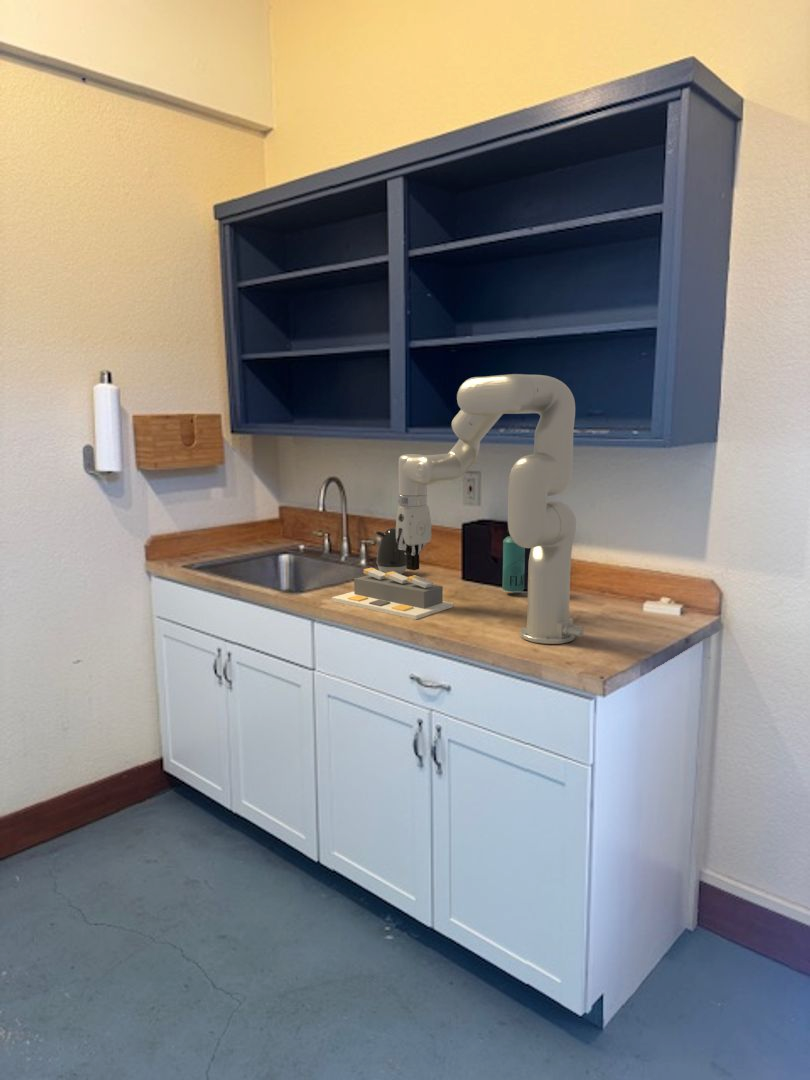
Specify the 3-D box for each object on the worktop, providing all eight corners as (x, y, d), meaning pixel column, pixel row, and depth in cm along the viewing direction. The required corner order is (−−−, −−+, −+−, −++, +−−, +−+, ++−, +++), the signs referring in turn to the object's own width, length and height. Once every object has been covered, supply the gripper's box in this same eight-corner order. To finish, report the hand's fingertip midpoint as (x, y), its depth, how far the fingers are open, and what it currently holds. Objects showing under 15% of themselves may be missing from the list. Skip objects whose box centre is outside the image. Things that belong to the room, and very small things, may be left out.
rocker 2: (432, 586, 202) (433, 582, 201) (425, 588, 199) (425, 584, 199) (414, 578, 205) (415, 575, 205) (406, 580, 203) (407, 577, 203)
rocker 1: (387, 577, 212) (388, 574, 211) (379, 579, 209) (380, 576, 209) (371, 570, 215) (371, 567, 215) (363, 572, 213) (363, 569, 213)
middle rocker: (409, 581, 207) (410, 578, 206) (401, 583, 204) (402, 580, 204) (392, 574, 210) (392, 571, 210) (384, 576, 208) (384, 573, 208)
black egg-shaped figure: (372, 572, 246) (371, 526, 243) (402, 570, 249) (402, 524, 246) (381, 579, 236) (380, 531, 234) (412, 576, 240) (412, 529, 237)
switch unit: (453, 606, 203) (453, 586, 202) (415, 619, 191) (415, 598, 190) (370, 590, 222) (370, 571, 221) (331, 600, 210) (331, 581, 209)
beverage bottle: (507, 597, 212) (508, 527, 209) (498, 592, 219) (499, 523, 215) (528, 596, 214) (530, 526, 211) (518, 590, 220) (520, 522, 217)
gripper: (405, 505, 192) (405, 575, 195) (441, 499, 203) (440, 566, 206) (383, 502, 197) (383, 572, 200) (419, 497, 208) (419, 563, 211)
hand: (412, 569), depth 203 cm, fingers closed
